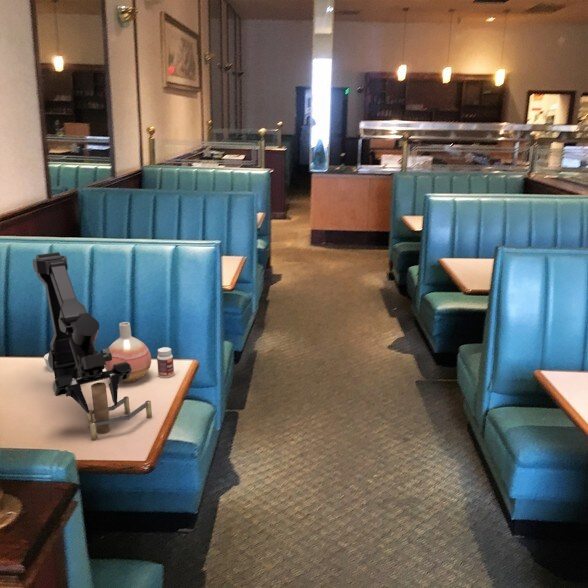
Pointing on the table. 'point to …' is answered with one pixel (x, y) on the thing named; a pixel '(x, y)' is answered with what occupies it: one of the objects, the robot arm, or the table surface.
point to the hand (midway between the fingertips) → (102, 409)
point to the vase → (129, 354)
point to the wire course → (127, 410)
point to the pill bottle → (165, 362)
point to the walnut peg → (100, 406)
